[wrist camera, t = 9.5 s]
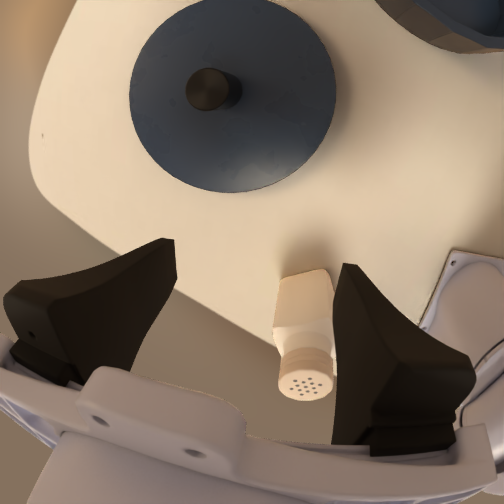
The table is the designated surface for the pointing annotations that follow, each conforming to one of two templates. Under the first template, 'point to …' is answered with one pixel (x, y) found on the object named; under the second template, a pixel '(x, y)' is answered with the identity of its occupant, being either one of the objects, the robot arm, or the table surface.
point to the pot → (452, 23)
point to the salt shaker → (305, 335)
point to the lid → (232, 94)
